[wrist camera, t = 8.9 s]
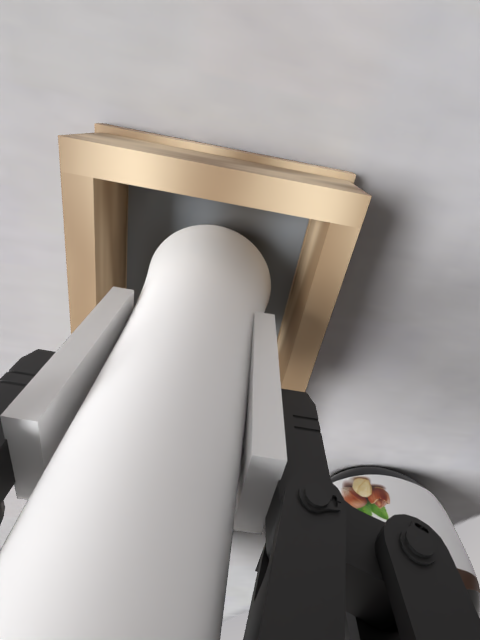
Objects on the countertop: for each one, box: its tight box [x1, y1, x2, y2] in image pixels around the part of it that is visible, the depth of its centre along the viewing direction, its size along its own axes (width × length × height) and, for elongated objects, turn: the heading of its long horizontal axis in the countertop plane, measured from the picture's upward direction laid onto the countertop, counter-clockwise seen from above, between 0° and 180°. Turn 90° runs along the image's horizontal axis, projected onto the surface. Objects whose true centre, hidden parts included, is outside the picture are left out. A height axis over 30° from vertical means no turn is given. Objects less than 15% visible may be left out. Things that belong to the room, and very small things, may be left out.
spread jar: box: [330, 466, 480, 640], centre depth 25 cm, size 12×11×12 cm
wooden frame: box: [58, 123, 372, 392], centre depth 20 cm, size 12×20×5 cm, turn 170°
